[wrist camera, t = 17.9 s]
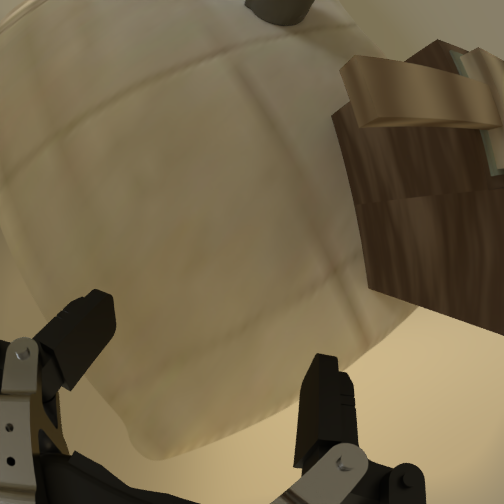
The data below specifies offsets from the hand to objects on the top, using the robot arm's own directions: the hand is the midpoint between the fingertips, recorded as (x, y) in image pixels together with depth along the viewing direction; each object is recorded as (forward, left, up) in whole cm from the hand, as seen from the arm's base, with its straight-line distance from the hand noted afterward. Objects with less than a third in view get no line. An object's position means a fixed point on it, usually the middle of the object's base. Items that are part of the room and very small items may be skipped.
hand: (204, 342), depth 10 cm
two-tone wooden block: (+20, +21, -25) cm, 38 cm away
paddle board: (+11, +21, -2) cm, 24 cm away
